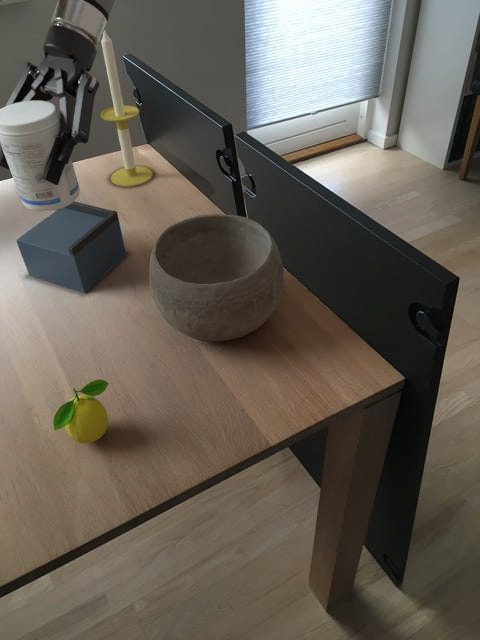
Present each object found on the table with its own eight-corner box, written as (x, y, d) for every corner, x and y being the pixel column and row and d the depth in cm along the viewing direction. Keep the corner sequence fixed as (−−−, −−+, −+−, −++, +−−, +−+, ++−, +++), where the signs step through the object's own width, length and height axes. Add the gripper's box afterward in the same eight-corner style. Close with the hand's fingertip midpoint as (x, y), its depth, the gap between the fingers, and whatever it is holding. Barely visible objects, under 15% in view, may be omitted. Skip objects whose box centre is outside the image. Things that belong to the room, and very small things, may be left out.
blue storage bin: (29, 275, 101) (13, 232, 94) (73, 240, 109) (61, 198, 103) (84, 293, 96) (71, 248, 90) (126, 254, 105) (117, 211, 98)
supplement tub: (55, 180, 95) (31, 95, 85) (93, 194, 90) (71, 106, 81) (10, 204, 89) (-23, 115, 79) (47, 220, 85) (17, 129, 75)
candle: (155, 183, 126) (131, 30, 104) (112, 189, 125) (78, 35, 103) (150, 164, 133) (126, 18, 112) (109, 170, 132) (77, 23, 110)
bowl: (178, 380, 80) (164, 303, 70) (144, 298, 94) (128, 225, 84) (304, 340, 85) (308, 263, 75) (253, 269, 100) (251, 196, 90)
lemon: (118, 415, 75) (103, 366, 69) (116, 450, 71) (100, 401, 64) (70, 421, 75) (50, 372, 68) (65, 456, 71) (43, 408, 64)
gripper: (143, 59, 82) (94, 198, 83) (41, 43, 91) (-2, 168, 92) (113, 30, 75) (60, 182, 76) (6, 15, 84) (-40, 151, 85)
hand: (26, 174), depth 84 cm, fingers closed on supplement tub, 9 cm apart
